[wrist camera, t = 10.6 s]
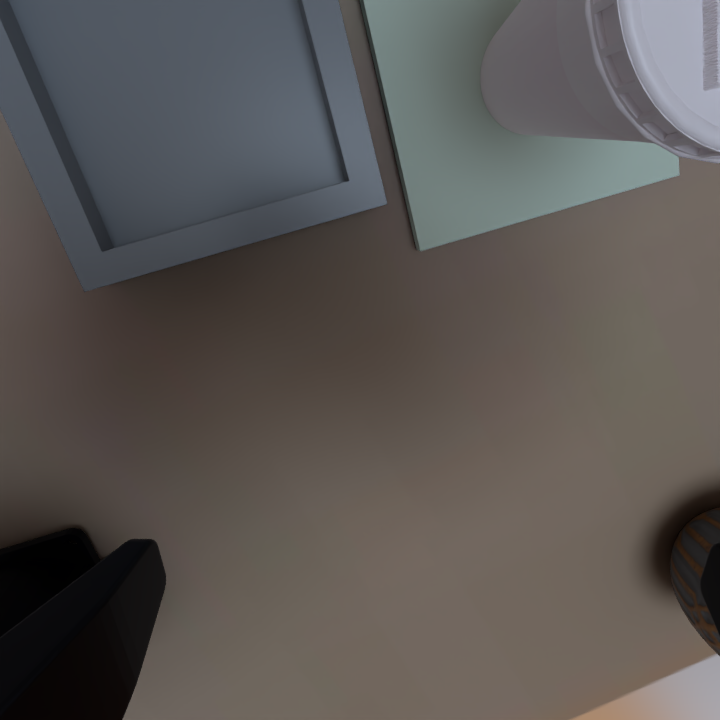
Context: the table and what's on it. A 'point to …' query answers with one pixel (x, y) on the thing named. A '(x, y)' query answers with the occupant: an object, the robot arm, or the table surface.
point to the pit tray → (183, 125)
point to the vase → (695, 572)
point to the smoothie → (609, 72)
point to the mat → (479, 129)
